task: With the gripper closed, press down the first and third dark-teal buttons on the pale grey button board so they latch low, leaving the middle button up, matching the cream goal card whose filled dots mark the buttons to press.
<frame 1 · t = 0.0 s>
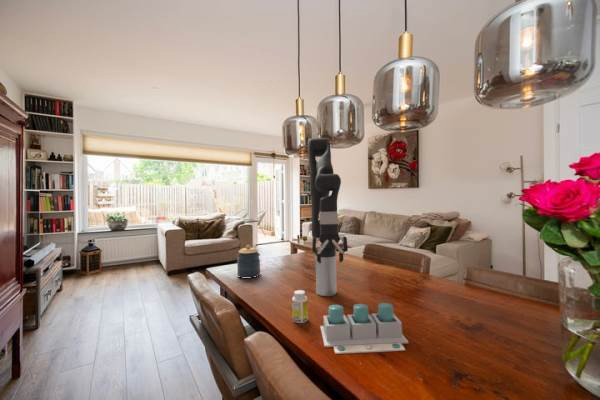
hand: (330, 262, 110), 17 cm above the table, tool pointing down, fingers open, 8 cm apart
supplement bottle: (300, 320, 97), on the table
button c: (385, 314, 86), point 6 cm above the table, slide at 0.0 cm
board: (361, 334, 86), on the table
button b: (361, 316, 86), point 6 cm above the table, slide at 0.0 cm
goal card: (368, 348, 78), on the table
canister: (249, 276, 154), on the table
button a: (336, 317, 86), point 6 cm above the table, slide at 0.0 cm
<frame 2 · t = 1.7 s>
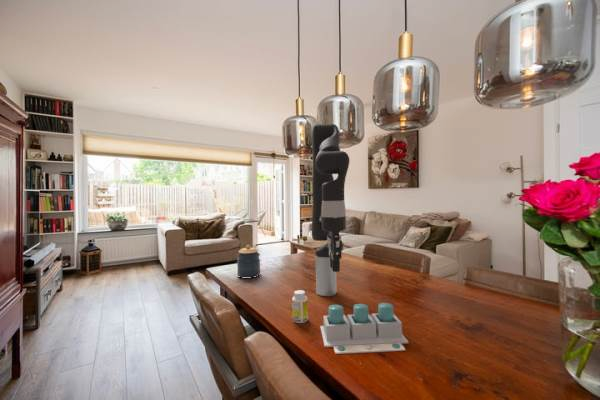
hand: (334, 269, 85), 21 cm above the table, tool pointing down, fingers open, 3 cm apart
nothing on the table moved.
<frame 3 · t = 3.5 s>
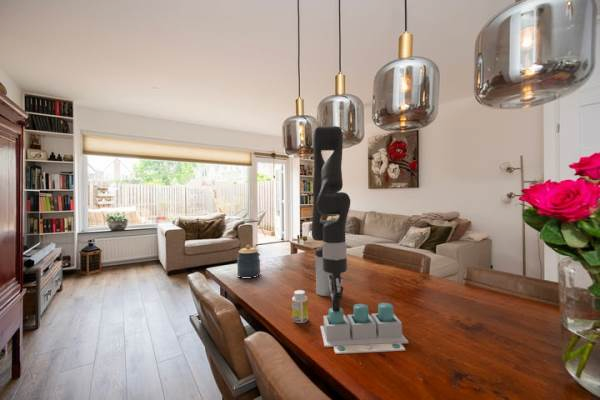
hand: (336, 310, 85), 8 cm above the table, tool pointing down, fingers closed
button a: (336, 319, 86), point 5 cm above the table, slide at 0.8 cm, touching gripper
everything else where it was.
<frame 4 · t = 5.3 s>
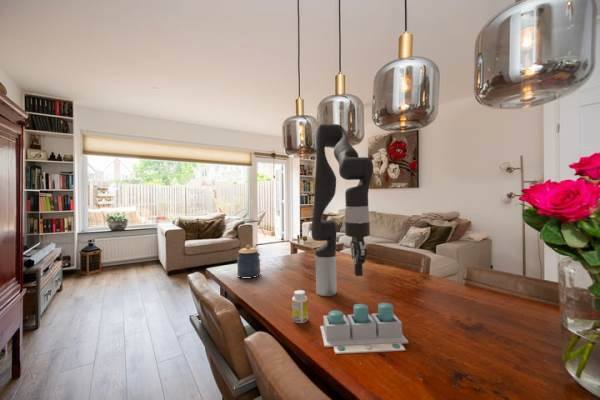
hand: (358, 275, 86), 19 cm above the table, tool pointing down, fingers closed
button a: (336, 323, 86), point 4 cm above the table, slide at 1.9 cm
everything else where it was.
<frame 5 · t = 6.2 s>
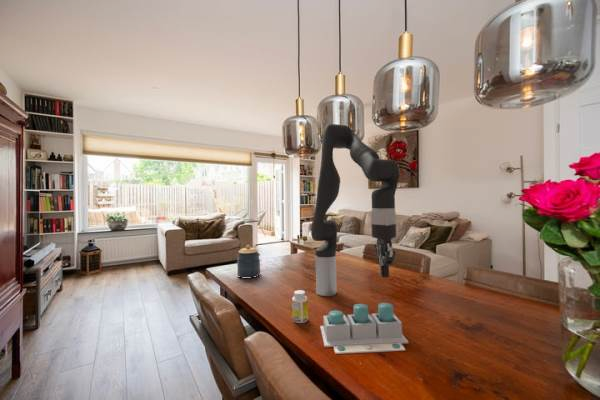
hand: (384, 276, 86), 18 cm above the table, tool pointing down, fingers closed
nothing on the table moved.
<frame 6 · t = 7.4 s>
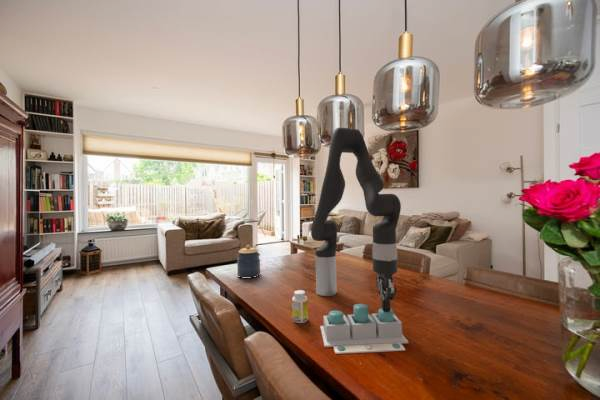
hand: (386, 311, 86), 7 cm above the table, tool pointing down, fingers closed
button c: (386, 320, 86), point 4 cm above the table, slide at 1.7 cm, touching gripper
everything else where it was.
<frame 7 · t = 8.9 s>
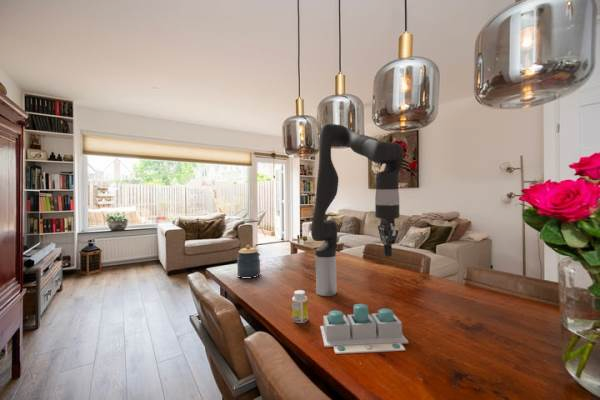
hand: (387, 255, 89), 24 cm above the table, tool pointing down, fingers closed
button c: (386, 320, 86), point 4 cm above the table, slide at 1.9 cm
everything else where it was.
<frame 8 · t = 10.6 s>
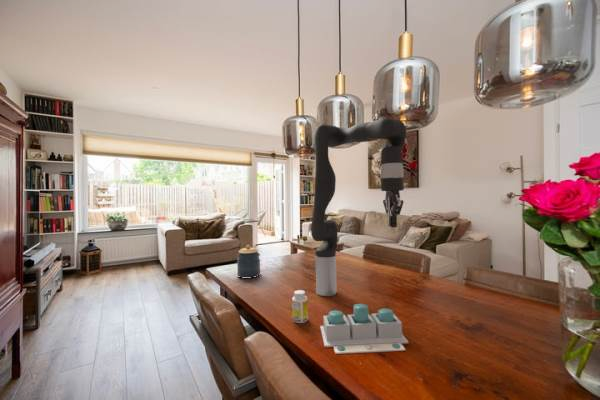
hand: (393, 227, 94), 33 cm above the table, tool pointing down, fingers closed
nothing on the table moved.
at the end: button a slide at 1.9 cm; button c slide at 1.9 cm; button b slide at 0.0 cm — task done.
